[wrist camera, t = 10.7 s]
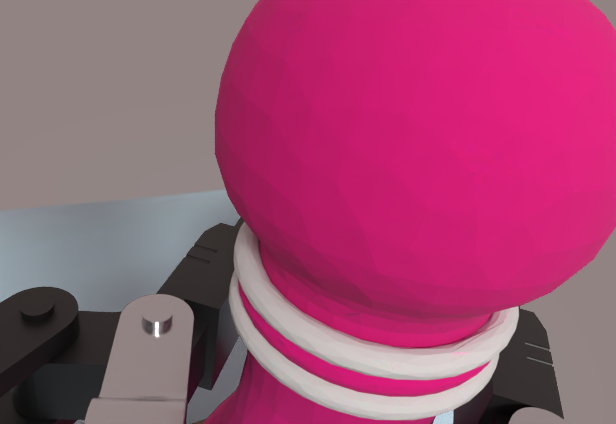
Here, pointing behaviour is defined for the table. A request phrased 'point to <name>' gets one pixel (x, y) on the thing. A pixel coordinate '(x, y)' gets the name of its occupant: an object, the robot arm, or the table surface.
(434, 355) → the pepper mill
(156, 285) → the table surface
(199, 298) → the robot arm
